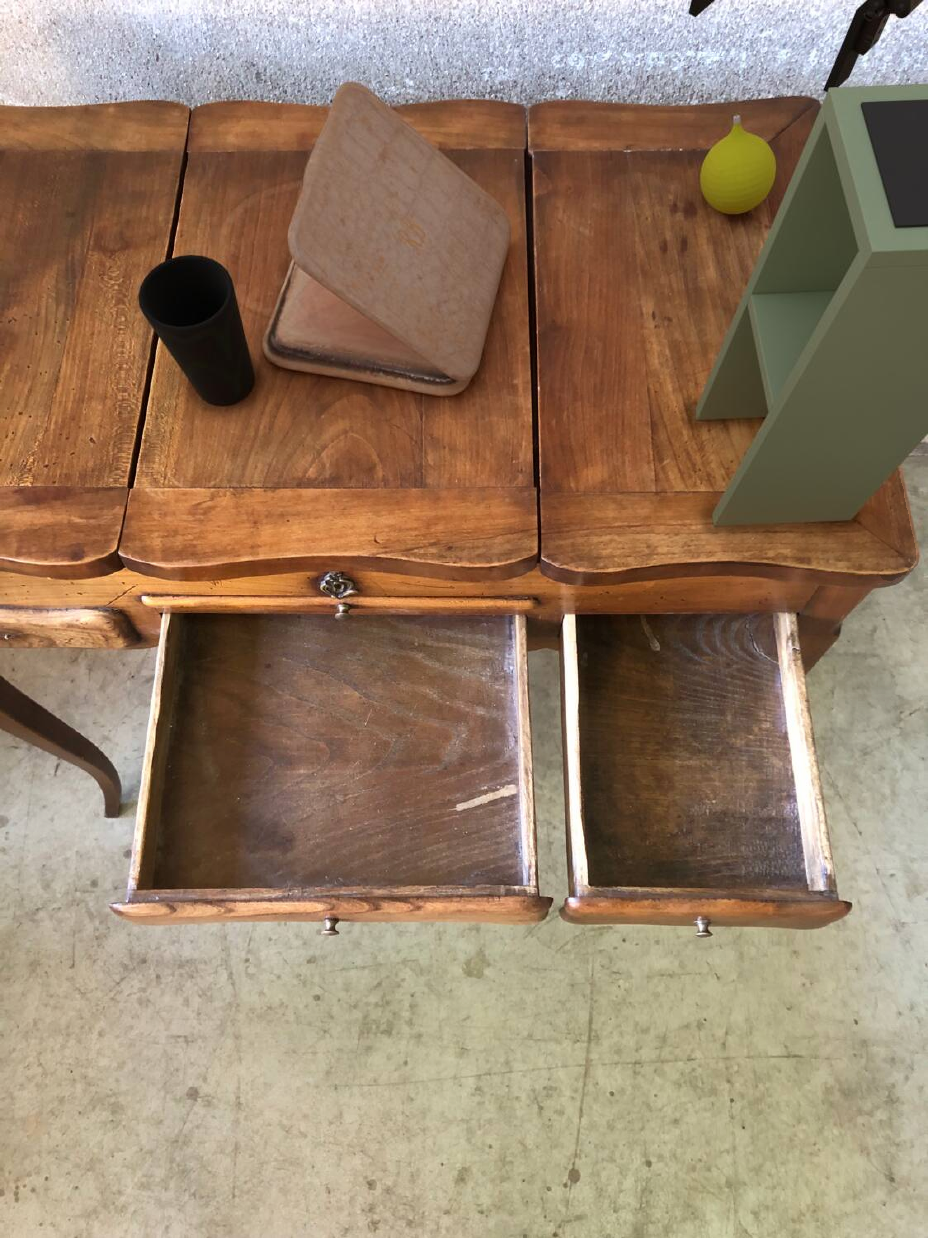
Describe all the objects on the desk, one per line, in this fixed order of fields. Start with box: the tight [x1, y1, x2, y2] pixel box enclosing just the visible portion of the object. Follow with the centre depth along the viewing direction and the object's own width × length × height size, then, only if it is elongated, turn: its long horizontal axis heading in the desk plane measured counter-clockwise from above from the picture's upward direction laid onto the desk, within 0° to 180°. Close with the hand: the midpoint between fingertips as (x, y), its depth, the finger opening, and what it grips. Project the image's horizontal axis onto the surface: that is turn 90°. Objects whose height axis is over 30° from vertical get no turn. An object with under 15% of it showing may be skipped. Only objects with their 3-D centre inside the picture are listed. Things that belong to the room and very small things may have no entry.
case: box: [261, 81, 512, 397], centre depth 77 cm, size 20×21×16 cm
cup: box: [137, 254, 256, 407], centre depth 75 cm, size 8×8×12 cm
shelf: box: [694, 83, 928, 527], centre depth 62 cm, size 12×12×32 cm
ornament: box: [699, 103, 777, 215], centre depth 83 cm, size 7×7×10 cm
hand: (767, 44), depth 72 cm, fingers open, 13 cm apart
